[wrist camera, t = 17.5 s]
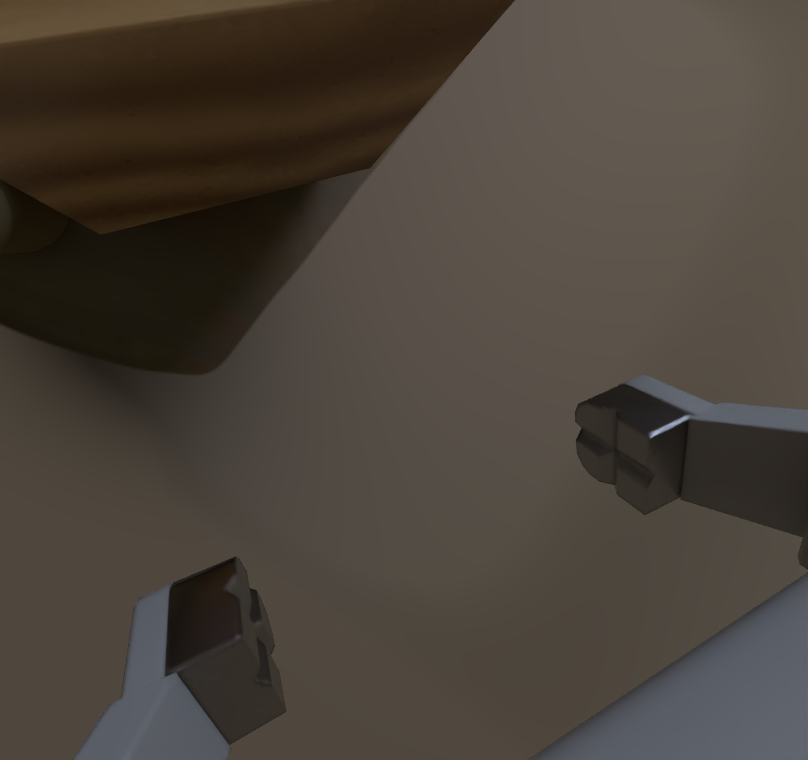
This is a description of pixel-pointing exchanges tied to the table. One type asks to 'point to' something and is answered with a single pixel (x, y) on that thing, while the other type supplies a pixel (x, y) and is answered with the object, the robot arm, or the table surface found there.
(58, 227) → the olive tapered rounded piece
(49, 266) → the table surface
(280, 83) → the bin lid
